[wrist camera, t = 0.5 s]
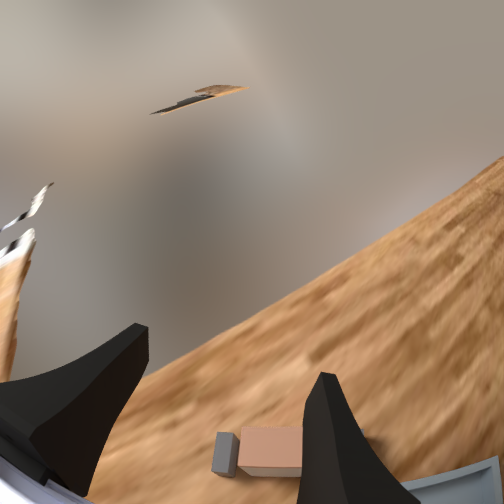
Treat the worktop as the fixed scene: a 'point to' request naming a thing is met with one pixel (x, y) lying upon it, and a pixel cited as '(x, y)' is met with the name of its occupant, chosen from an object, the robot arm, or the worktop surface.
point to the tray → (461, 485)
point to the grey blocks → (227, 454)
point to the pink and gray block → (271, 451)
